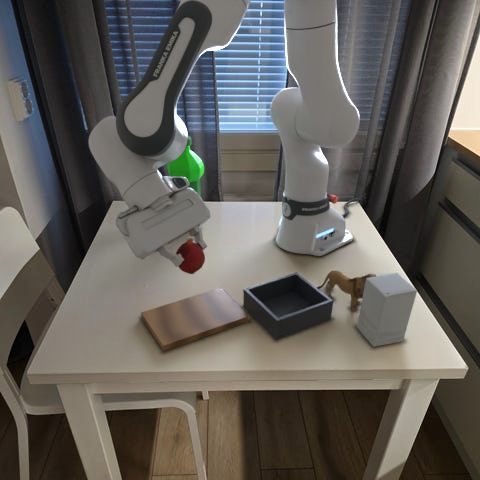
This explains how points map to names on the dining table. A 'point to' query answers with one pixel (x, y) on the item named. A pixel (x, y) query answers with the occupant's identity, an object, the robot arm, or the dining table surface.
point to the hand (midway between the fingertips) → (192, 256)
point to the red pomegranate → (191, 256)
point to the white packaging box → (385, 309)
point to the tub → (287, 305)
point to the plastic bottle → (188, 168)
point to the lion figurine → (346, 285)
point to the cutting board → (193, 318)
